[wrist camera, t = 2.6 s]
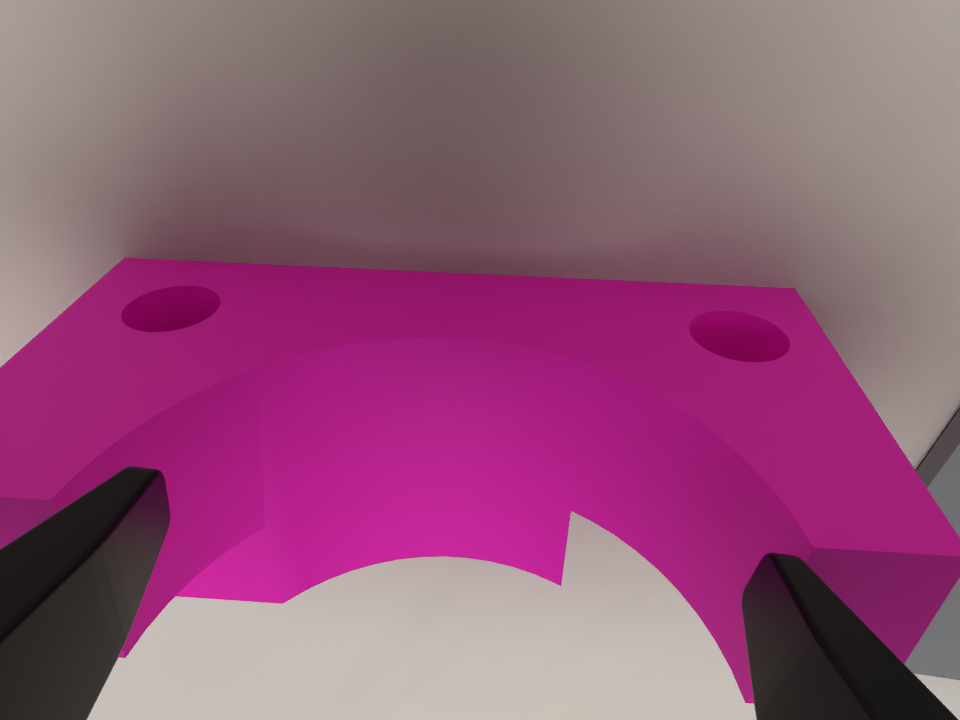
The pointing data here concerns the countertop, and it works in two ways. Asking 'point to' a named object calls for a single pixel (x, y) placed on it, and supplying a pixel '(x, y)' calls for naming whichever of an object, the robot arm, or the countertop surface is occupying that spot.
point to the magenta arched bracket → (471, 434)
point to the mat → (956, 627)
